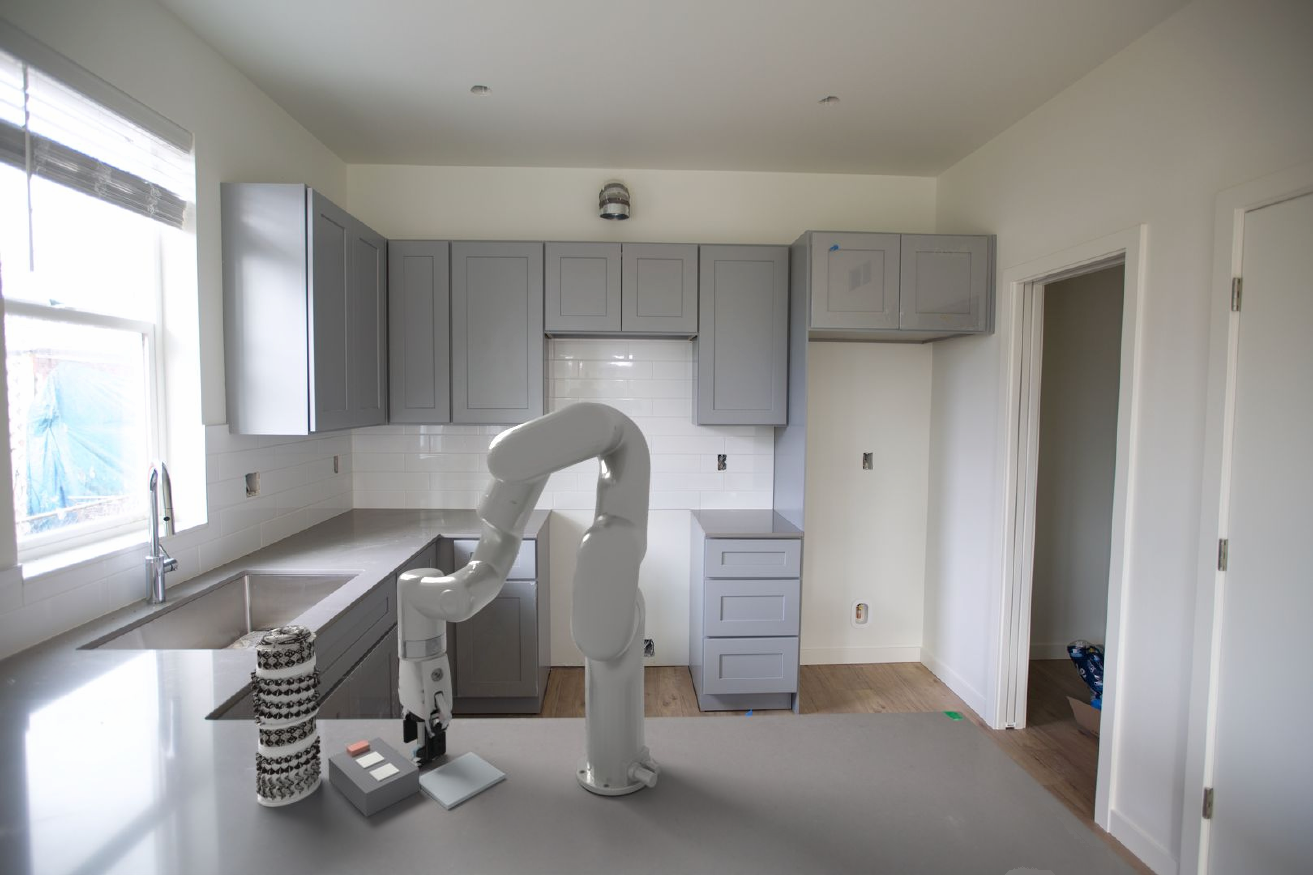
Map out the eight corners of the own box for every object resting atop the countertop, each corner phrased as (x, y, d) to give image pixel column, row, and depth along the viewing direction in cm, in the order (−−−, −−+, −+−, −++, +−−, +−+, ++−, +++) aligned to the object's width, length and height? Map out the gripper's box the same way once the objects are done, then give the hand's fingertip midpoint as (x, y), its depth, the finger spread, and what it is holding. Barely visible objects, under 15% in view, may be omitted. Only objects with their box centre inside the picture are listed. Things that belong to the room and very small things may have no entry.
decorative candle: (239, 800, 88) (234, 637, 88) (296, 766, 97) (292, 617, 96) (281, 814, 85) (276, 645, 84) (336, 778, 94) (333, 624, 93)
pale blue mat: (505, 777, 93) (505, 774, 93) (447, 809, 86) (447, 805, 86) (471, 754, 100) (471, 751, 100) (414, 782, 92) (414, 778, 92)
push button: (424, 774, 94) (423, 714, 94) (397, 769, 96) (396, 709, 96) (450, 752, 101) (449, 695, 100) (424, 747, 102) (423, 691, 102)
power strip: (420, 789, 90) (420, 762, 90) (366, 817, 84) (365, 788, 84) (380, 756, 100) (380, 731, 99) (328, 779, 93) (328, 752, 93)
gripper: (470, 650, 95) (472, 757, 95) (418, 626, 106) (420, 722, 107) (426, 664, 89) (429, 778, 90) (376, 637, 101) (379, 739, 101)
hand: (424, 747), depth 98 cm, fingers open, 7 cm apart
